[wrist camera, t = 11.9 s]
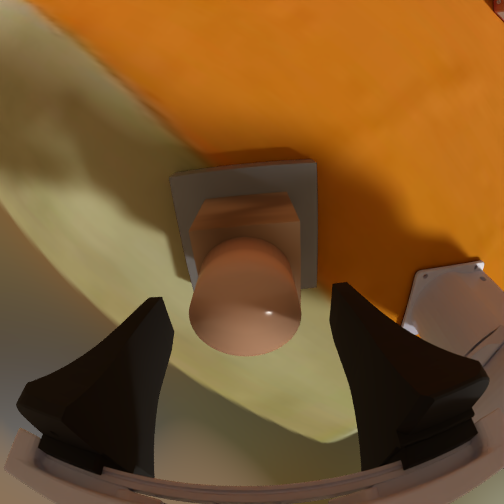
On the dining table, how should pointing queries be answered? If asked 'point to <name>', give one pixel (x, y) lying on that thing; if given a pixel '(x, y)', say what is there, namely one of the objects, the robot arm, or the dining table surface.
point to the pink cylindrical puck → (245, 298)
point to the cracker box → (499, 8)
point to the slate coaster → (252, 182)
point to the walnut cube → (249, 226)
